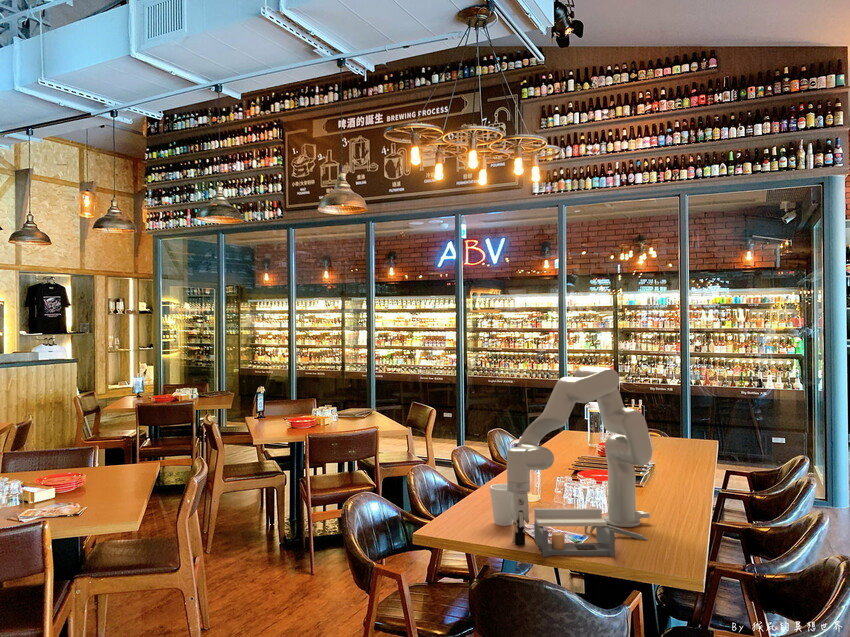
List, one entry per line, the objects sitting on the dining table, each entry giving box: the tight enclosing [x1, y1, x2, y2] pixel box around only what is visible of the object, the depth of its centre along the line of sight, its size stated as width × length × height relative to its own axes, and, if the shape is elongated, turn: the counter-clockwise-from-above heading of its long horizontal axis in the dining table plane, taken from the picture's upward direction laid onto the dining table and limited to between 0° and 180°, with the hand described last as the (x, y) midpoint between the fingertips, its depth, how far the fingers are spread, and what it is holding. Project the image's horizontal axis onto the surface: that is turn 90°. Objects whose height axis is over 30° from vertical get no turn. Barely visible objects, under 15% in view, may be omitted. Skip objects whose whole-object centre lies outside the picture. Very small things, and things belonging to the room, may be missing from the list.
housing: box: [533, 520, 616, 558], centre depth 201 cm, size 22×15×8 cm
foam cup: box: [489, 483, 513, 527], centre depth 227 cm, size 10×9×13 cm
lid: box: [533, 507, 608, 527], centre depth 205 cm, size 22×7×4 cm, turn 90°
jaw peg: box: [512, 524, 519, 544], centre depth 206 cm, size 4×4×6 cm
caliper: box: [584, 524, 648, 541], centre depth 212 cm, size 20×1×6 cm, turn 67°
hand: (518, 541), depth 206 cm, fingers open, 4 cm apart
